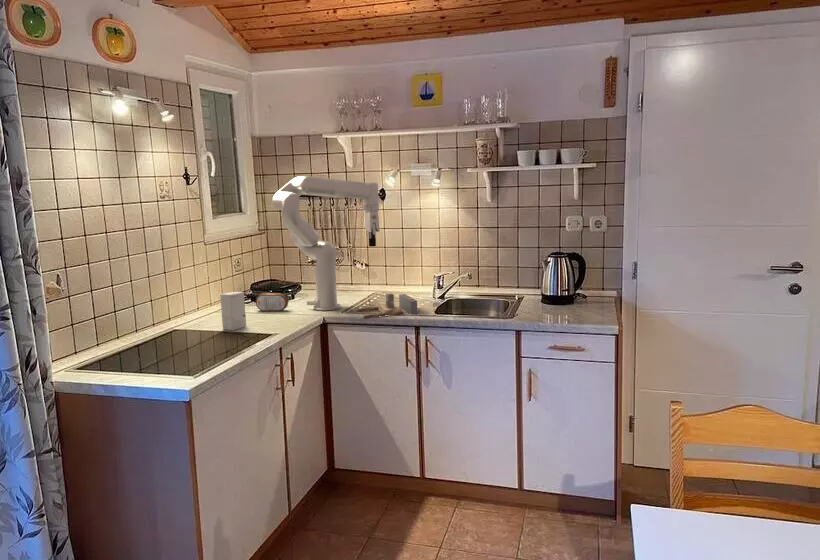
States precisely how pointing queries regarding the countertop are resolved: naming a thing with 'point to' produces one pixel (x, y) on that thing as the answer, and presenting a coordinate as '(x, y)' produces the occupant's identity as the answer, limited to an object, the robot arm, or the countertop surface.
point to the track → (376, 314)
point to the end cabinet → (407, 304)
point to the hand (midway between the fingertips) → (372, 246)
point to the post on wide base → (389, 305)
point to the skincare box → (233, 310)
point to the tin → (271, 302)
